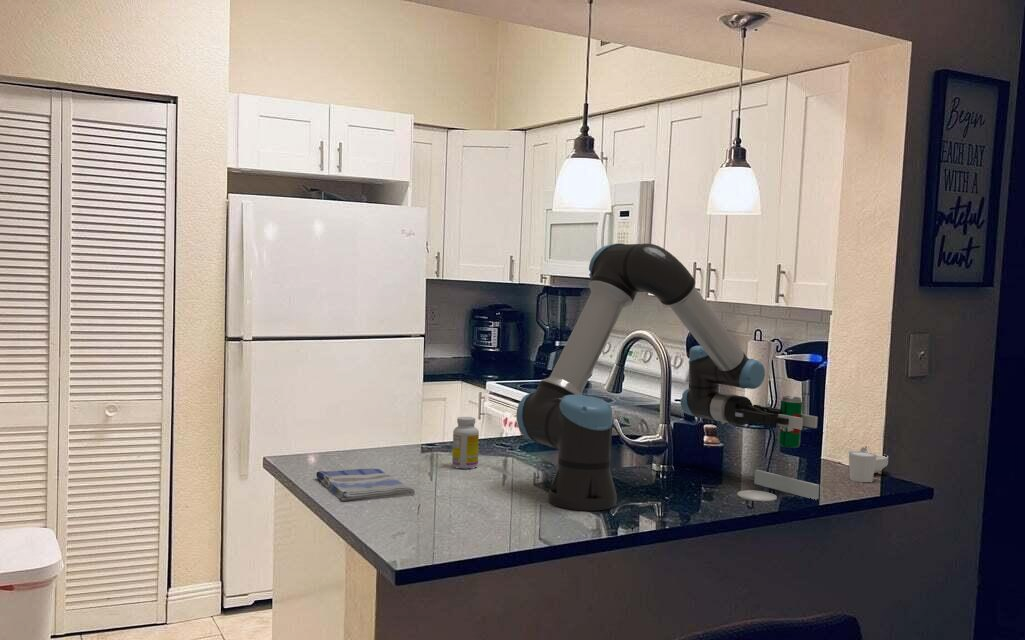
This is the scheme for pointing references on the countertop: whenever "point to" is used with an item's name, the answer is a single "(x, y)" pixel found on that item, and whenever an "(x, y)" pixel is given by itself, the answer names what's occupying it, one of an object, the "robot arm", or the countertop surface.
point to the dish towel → (363, 484)
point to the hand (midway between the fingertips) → (808, 423)
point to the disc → (757, 495)
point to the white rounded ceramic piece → (880, 460)
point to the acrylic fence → (787, 484)
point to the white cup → (862, 466)
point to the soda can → (786, 434)
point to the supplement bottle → (465, 443)
